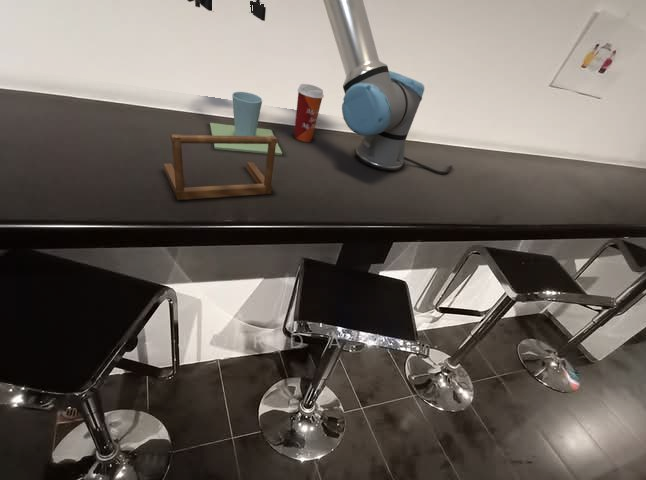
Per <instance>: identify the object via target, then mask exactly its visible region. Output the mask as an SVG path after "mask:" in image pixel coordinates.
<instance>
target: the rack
mask: <svg viewBox="0 0 646 480" xmlns="http://www.w3.org/2000/svg"><path fill="white" fill-rule="evenodd" d="M170 142H171V148H172V149H171V150H172V160H173V164H172V163H163V170H164V173H165V176H166V178H167V180H168V182H169V185H170V186H171V188H172V190H173V193H174V196H175V197H176V199H177V201H183V200H199V199H213V198H227V197H228V198H229V197H243V196H257V195H271V194H272V190H273V186H272V180H273V172H274V163H275V149H276V144H277V143H278V137H277V136H275V135H274V136H214V135H212V134H208V135H207V134H205V135H204V134H178V133H172V134H170ZM182 144H202V145H203V144H204V145H205V144H209V145H210V144H211V145H214V144H268V151H267V154H266V161H265V171H264V174H263V173H262V171H260V169H259V168H258V167H257V165H256V163H255V162H253V161H246V166H245V167H246V170H247V172H248V173H249V174H250V176H251V178H252V179H253V180H254V182H255V183H247V184H246V183H245V184H229V185H227V184H226V185H210V186H194V187H193V186H191V187H188V186H187V187H185V177H184V162H183V149H182V148H183V147H182Z"/></svg>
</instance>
